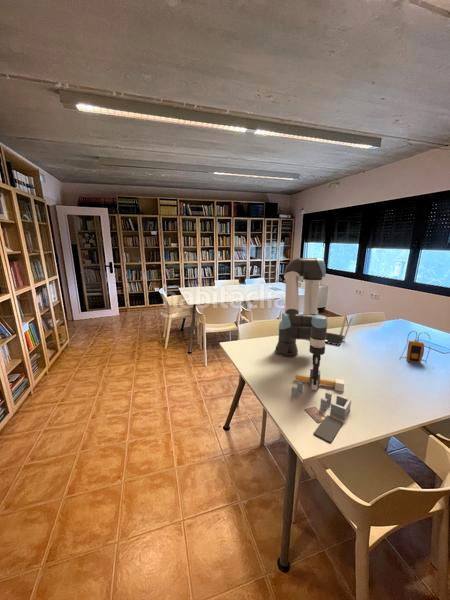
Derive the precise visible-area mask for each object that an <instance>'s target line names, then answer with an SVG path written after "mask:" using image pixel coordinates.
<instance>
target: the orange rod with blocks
mask: <svg viewBox="0 0 450 600" xmlns="http://www.w3.org/2000/svg"><path fill="white" fill-rule="evenodd" d="M309 370H310V371H309V376H306V375H299V374H295V375H294V376H295V377H294V380H295V381H299V382H304V383H305V382H306V383H309V384H308V385H309V386H311V387H312V378H311V377H313V368H310V369H309ZM321 385H322V386H323V385H324V386H327V387H334V390H335V391H341V392H344V391H345V381H344V379H341V378H336V377H335V379H334V380H330V379H329V380H328V379H324V378H321V369H320V370H319V371H318V385H317V388H320V387H321Z"/></svg>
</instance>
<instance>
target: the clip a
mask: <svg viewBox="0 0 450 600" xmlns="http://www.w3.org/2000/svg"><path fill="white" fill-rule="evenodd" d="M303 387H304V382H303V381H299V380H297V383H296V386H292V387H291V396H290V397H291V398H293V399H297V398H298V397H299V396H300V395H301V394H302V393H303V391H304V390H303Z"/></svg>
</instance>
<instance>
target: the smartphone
mask: <svg viewBox="0 0 450 600" xmlns="http://www.w3.org/2000/svg"><path fill="white" fill-rule="evenodd" d="M343 425H344V422H343V421H342V420H339V419H337V418H336V417H335V418H334V417H332V416H331V415H329V414H328V415H326V416H325V417H324V419H323V420H322V421H321V422H320V424H319V425H318V427H316V429H315V430H314V432H313V433H312V434H313V436H315V437H317V438H319V439H320V440H323V441H325V442H326V443H329V444H331V443H332V442H333V441H334V439H335V438H336V436H337V435H338V433H339V431H340V429H341V428H342V427H343Z"/></svg>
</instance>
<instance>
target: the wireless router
mask: <svg viewBox="0 0 450 600" xmlns="http://www.w3.org/2000/svg"><path fill="white" fill-rule="evenodd" d="M317 314H319V310H318V309H317ZM347 317H348V314H347V313H346V314H345V315H344V318H343V322H342V326H341V329H340V333H339V334H338V333H331V332H326V340H327V342H328V343H327V344H330V343H332V344H331V345H335V344H337V345H336V346H338V345H340V344H341V343H342V341H345V340H346V337H347V334H348V332H349V329H350V326H351V323H352V321H353V319H354V318H353V317H351V318H350V319H349V322H348V324H347V327H346V329H345V334H344V335H343V333H344V328H345V325H346V320H347Z"/></svg>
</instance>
